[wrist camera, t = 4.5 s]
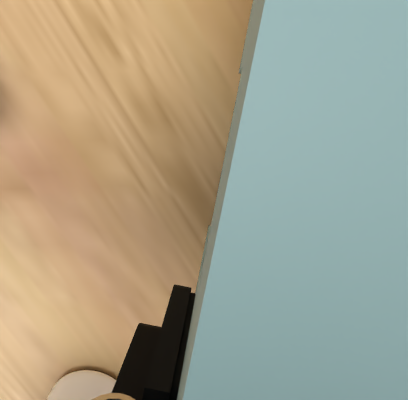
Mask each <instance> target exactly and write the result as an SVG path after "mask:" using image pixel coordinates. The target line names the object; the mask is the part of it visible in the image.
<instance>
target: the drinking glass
mask: <svg viewBox="0 0 408 400" xmlns="http://www.w3.org/2000/svg"><path fill="white" fill-rule="evenodd" d="M115 383H116V380H115V379H114V378H112V377H111V376H109V375H107V374H104V373H101V372H98V371H93V370H80V371H75V372H72V373H69V374H67V375H65V376H63V377H62V378H61V379H60V380H59V381H57V383H56V384H55V385H54V386H53V388H52V390H51V391H50V393H49V395H48V397H47V399H46V400H92V399H94V398H96V397H98V396H100V395H103V394H108V393H112V390H113V388H114V385H115Z"/></svg>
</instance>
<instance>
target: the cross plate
mask: <svg viewBox="0 0 408 400" xmlns="http://www.w3.org/2000/svg"><path fill="white" fill-rule="evenodd" d="M239 73H240V74H241V77H240V82H239V87H238V92H237V97H236V102H235V107H234V112H233V117H232V122H231V127H230V132H229V137H228V142H227V147H226V152H225V157H224V162H223V167H222V172H221V177H220V182H219V187H218V192H217V197H216V202H215V207H214V212H213V217H212V222H211V226H210V225H209V226H208V232H207V237H206V242H205V247H204V252H203V257H202V262H201V267H200V272H199V277H198V282H197V287H196V292H195V294H196V295H195V300H194V306H193V312H192V317H191V323H190V328H189V334H188V340H187V345H186V351H185V356H184V362H183V368H182V373H181V379H180V384H179V390H178V395H177V400H408V0H253V4H252V9H251V14H250V19H249V24H248V29H247V34H246V39H245V44H244V49H243V54H242V59H241V64H240V70H239Z"/></svg>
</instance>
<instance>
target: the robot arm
mask: <svg viewBox="0 0 408 400" xmlns="http://www.w3.org/2000/svg"><path fill="white" fill-rule="evenodd" d="M195 295H196V294H195V293H191V288H189V287H184V286H179V285H174V287H173V290H172V293H171V297H170V300H169V304H168V307H167V311H166V314H165V317H164V321H163V324H162V327H158V326H153V325H148V324H143V323H139V324H138V327H137V329H136V331H135V334H134V337H133V339H132V342H131V344H130V347H129V349H128V352H127V354H126V357H125V360H124V362H123V365H122V367H121V370H120V372H119V375H118V377H117V380H116V383H115V385H114V388H113V390H112V393H108V394H103V395H100V396H98V397H96V398H94V399H92V400H177V395H178V390H179V384H180V379H181V373H182V368H183V362H184V356H185V351H186V345H187V340H188V334H189V328H190V323H191V317H192V312H193V306H194V300H195Z"/></svg>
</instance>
